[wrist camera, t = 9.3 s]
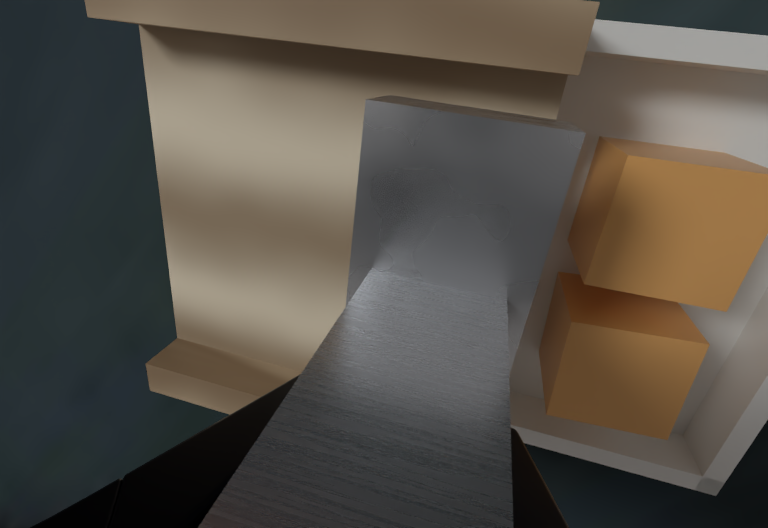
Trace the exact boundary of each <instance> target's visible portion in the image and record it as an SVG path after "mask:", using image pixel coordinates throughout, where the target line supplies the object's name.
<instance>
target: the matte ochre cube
mask: <svg viewBox="0 0 768 528" xmlns="http://www.w3.org/2000/svg"><path fill="white" fill-rule="evenodd" d="M709 345H710V344H709V343H708V342H707V340H706V339H705V338H704V336H703V335H702V334H701V332H700V331H699V330H698V328H697V327H696V326H695V324H694V323H693V322H692V320H691V319H690V318H689V316H688V315H687V314H686V312H685V311H684V310H683V308H682V307H681V306H680V304H679V303H678V302H673V301H668V300H663V299H658V298H652V297H647V296H642V295H637V294H632V293H627V292H622V291H617V290H611V289H606V288H601V287H596V286H591V285H586V284H584V283H583V280H582V278H581V275H579V274H572V273H565V272H558V274H557V278H556V282H555V287H554V291H553V295H552V299H551V303H550V307H549V311H548V315H547V320H546V324H545V328H544V332H543V336H542V340H541V344H540V348H539V358H540V366H541V375H542V383H543V391H544V400H545V408H546V415H550V416H555V417H560V418H564V419H569V420H574V421H579V422H583V423H588V424H593V425H597V426H602V427H607V428H612V429H616V430H621V431H626V432H631V433H635V434H640V435H645V436H649V437H654V438H659V439H664V440H668V438H669V435H670V433H671V431H672V429H673V426H674V424H675V422H676V420H677V417H678V415H679V413H680V411H681V408H682V406H683V404H684V402H685V399H686V397H687V395H688V393H689V390H690V388H691V386H692V384H693V381H694V379H695V377H696V375H697V372H698V370H699V368H700V366H701V363H702V361H703V359H704V357H705V354H706V352H707V350H708V348H709Z"/></svg>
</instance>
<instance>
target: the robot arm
mask: <svg viewBox="0 0 768 528" xmlns="http://www.w3.org/2000/svg"><path fill="white" fill-rule="evenodd" d="M299 376H300V374H299V375H298V376H296V377H294V378H292V379H291V380H289V381H287V382H286V383H284V384H282V385H280V386H279V387H277V388H275V389H273V390H272V391H270V392H268V393H267V394H265V395H263V396H261V397H260V398H258V399H256V400H254V401H253V402H251V403H249V404H247V405H246V406H244V407H242V408H241V409H239V410H237V411H235V412H234V413H232V414H230V415H228V416H227V417H225V418H223V419H222V420H220V421H218V422H216V423H215V424H213V425H211V426H209V427H208V428H206V429H204V430H202V431H201V432H199V433H197V434H196V435H194V436H192V437H190V438H189V439H187V440H185V441H183V442H182V443H180V444H178V445H177V446H175V447H173V448H171V449H170V450H168V451H166V452H164V453H163V454H161V455H159V456H157V457H156V458H154V459H152V460H151V461H149V462H147V463H145V464H144V465H142V466H140V467H138V468H137V469H135V470H133V471H132V472H130V473H128V474H126V475H125V476H124V478H123V480H122V479H117V480H116V481H114V482H112V483H110V484H109V485H107V486H105V487H103V488H102V489H100V490H98V491H97V492H95V493H93V494H91V495H89V496H88V497H86V498H84V499H82V500H80V501H79V502H77V503H75V504H73V505H71V506H70V507H68V508H66V509H64V510H62V511H61V512H59V513H57V514H55V515H53V516H52V517H50V518H48V519H46V520H44V521H42V522H40V523H38V524H36V525H34V526H32V527H30V528H198V527H199V525H200V524H201V522H202V521H203V519H204V518H205V516H206V515H207V513H208V512H209V510H210V509H211V507H212V506H213V504H214V503H215V501H216V500H217V498H218V497H219V495H220V494H221V492H222V491H223V489H224V488H225V486H226V485H227V483H228V482H229V480H230V479H231V478H232V476H233V475H234V473H235V472H236V470H237V469H238V467H239V466H240V464H241V463H242V461H243V460H244V458H245V457H246V455H247V454H248V452H249V451H250V449H251V448H252V446H253V445H254V443H255V442H256V440H257V439H258V437H259V436H260V434H261V433H262V431H263V430H264V428H265V427H266V425H267V424H268V422H269V421H270V419H271V418H272V416H273V415H274V413H275V412H276V410H277V409H278V407H279V406H280V404H281V403H282V401H283V400H284V398H285V397H286V395H287V394H288V392H289V391H290V389H291V388H292V386H293V385H294V383H295V382H296V380H297V379H298V377H299ZM511 460H512V496H513V528H569V526H568V525H567V523H566V521H565V519H564V517H563V515H562V513H561V512H560V510H559V508H558V506H557V504H556V502H555V500H554V499H553V497H552V495H551V493H550V491H549V489H548V487H547V486H546V484H545V482H544V480H543V478H542V476H541V474H540V473H539V471H538V469H537V467H536V465H535V463H534V461H533V460H532V458H531V456H530V454H529V452H528V450H527V448H526V447H525V445H524V443H523V441H522V439H521V437H520V435H519V433H518V432H517V431H516V430H515V429H514V428H511Z"/></svg>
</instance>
